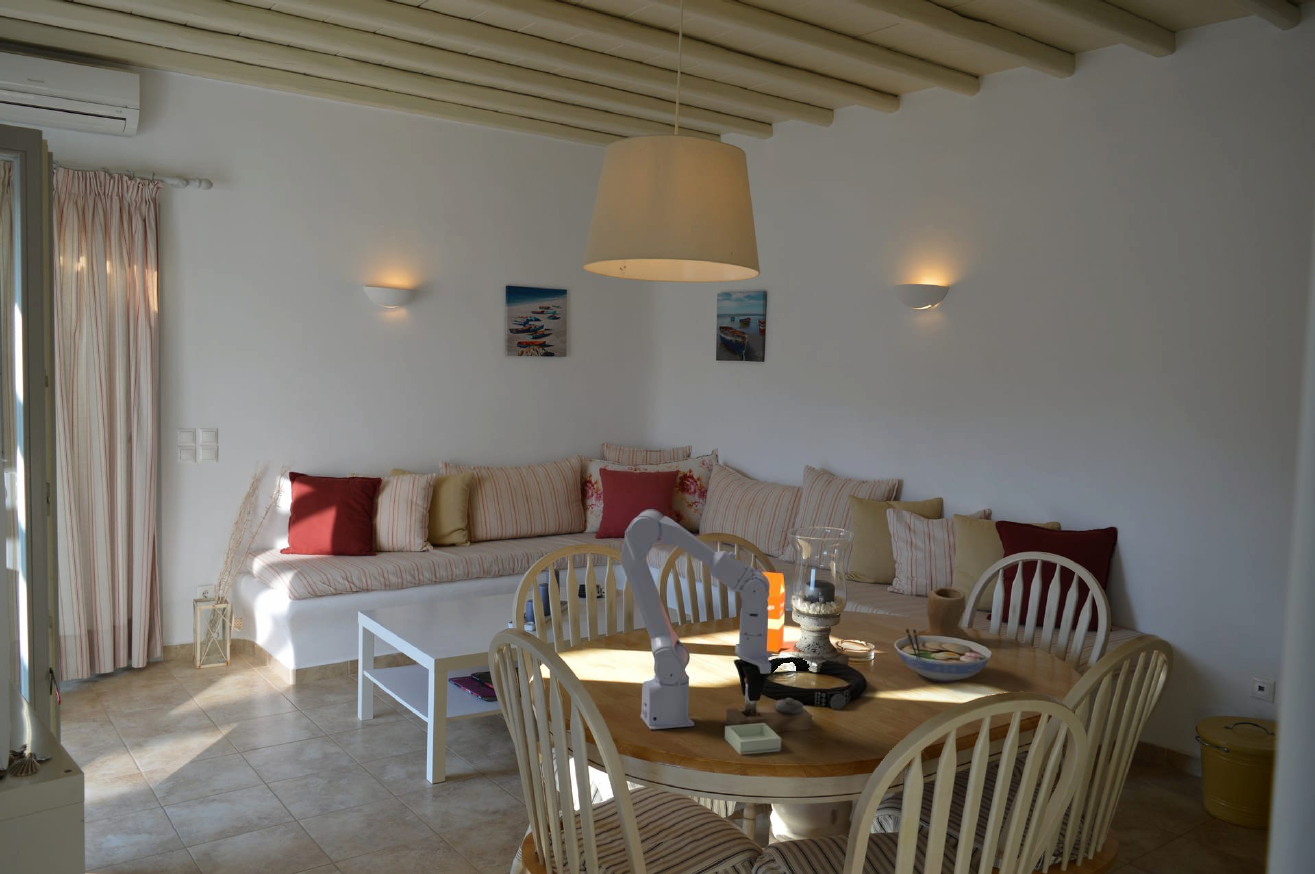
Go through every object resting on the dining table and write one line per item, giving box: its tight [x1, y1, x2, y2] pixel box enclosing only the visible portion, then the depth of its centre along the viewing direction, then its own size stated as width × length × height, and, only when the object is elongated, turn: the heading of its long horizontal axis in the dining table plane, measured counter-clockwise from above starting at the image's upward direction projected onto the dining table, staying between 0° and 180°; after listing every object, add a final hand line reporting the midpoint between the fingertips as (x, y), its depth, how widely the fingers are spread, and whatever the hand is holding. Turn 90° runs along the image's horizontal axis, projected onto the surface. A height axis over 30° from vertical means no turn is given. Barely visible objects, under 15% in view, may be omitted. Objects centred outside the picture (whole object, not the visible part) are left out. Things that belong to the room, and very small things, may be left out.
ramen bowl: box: [893, 628, 993, 683], centre depth 239 cm, size 25×23×8 cm
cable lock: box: [761, 656, 868, 711], centre depth 229 cm, size 28×4×30 cm
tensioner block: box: [725, 698, 813, 733], centre depth 203 cm, size 16×7×5 cm, turn 106°
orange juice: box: [761, 571, 786, 653], centre depth 262 cm, size 8×9×20 cm
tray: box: [724, 723, 782, 755], centre depth 193 cm, size 8×8×2 cm
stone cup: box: [916, 586, 969, 640], centre depth 270 cm, size 15×12×15 cm
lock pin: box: [744, 676, 758, 717], centre depth 202 cm, size 3×3×8 cm
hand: (751, 697), depth 202 cm, fingers closed on lock pin, 3 cm apart
